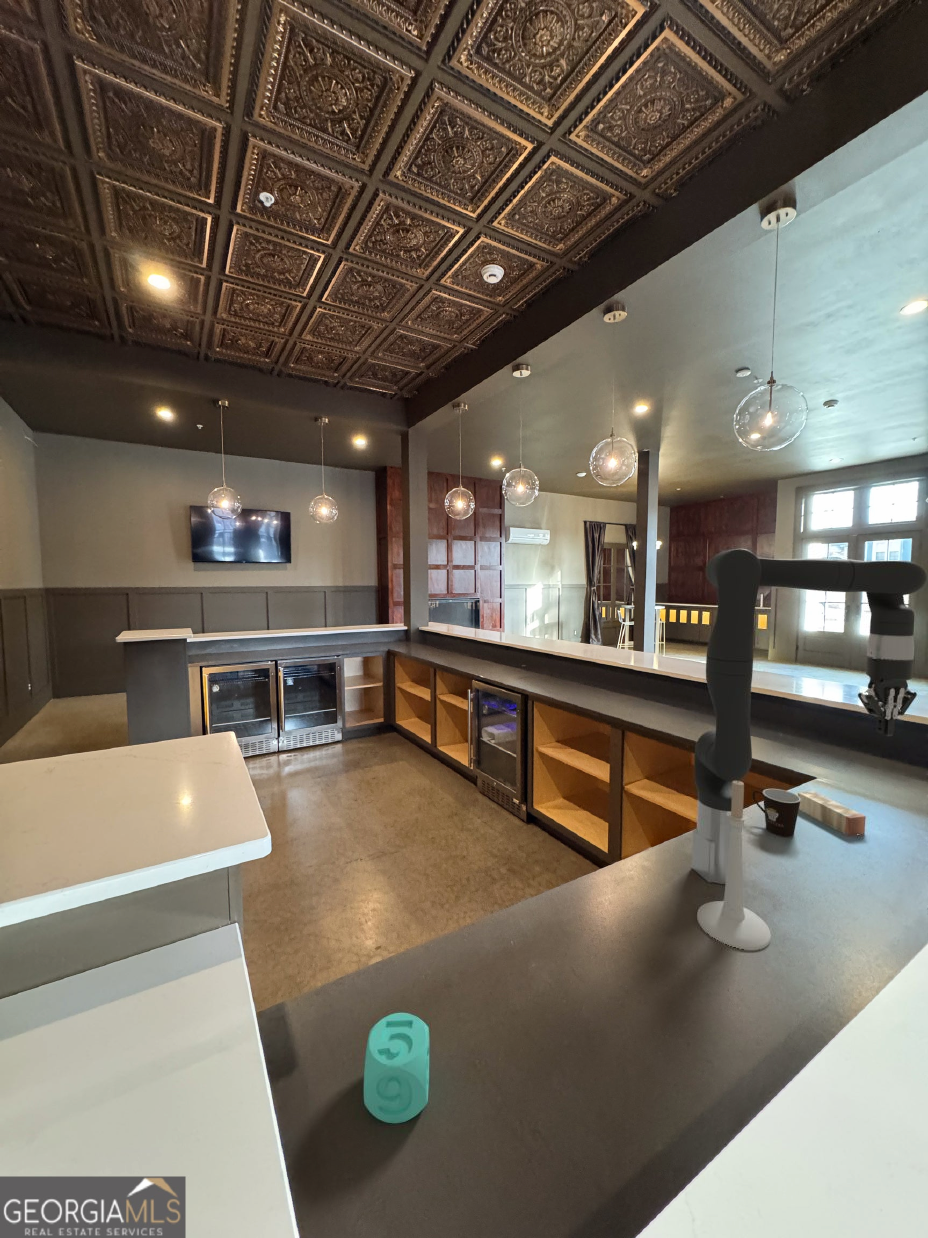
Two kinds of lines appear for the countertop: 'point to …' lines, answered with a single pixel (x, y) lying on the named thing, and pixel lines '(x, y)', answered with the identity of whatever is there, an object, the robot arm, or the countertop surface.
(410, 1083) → the decorative dice
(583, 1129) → the countertop surface
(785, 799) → the coffee mug
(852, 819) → the maple block
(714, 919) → the candlestick
